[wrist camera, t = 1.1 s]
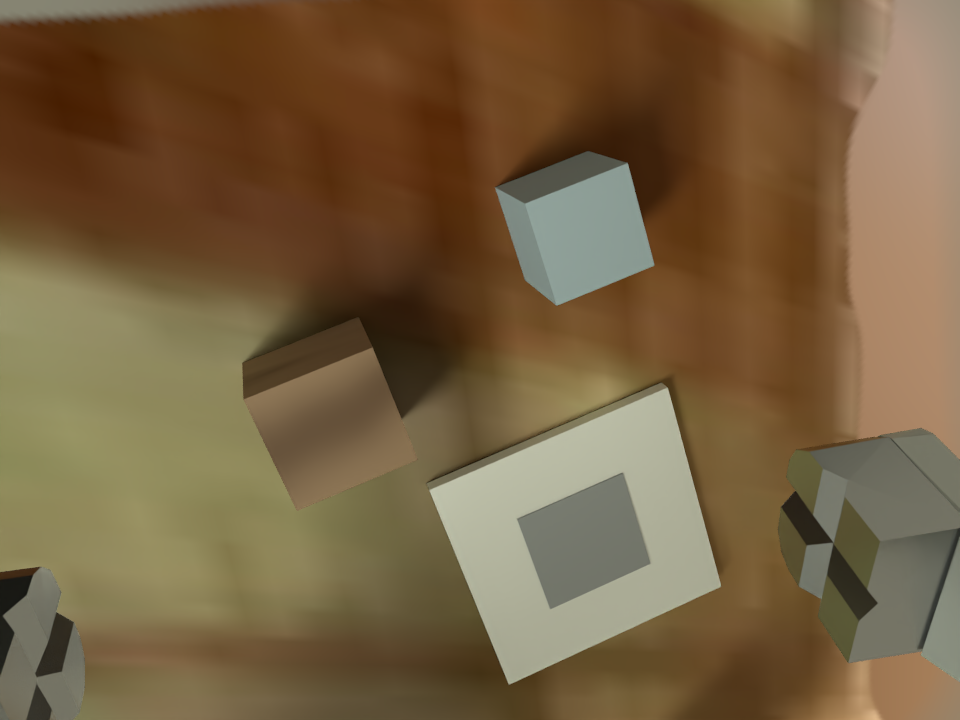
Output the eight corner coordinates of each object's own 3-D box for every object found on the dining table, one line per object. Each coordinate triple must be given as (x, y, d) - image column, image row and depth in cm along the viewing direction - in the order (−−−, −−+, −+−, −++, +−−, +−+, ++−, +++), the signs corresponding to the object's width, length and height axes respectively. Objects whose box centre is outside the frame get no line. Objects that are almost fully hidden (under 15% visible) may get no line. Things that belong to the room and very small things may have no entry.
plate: (714, 579, 56) (722, 587, 55) (505, 676, 54) (509, 685, 53) (661, 382, 50) (668, 388, 49) (426, 483, 48) (429, 491, 48)
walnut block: (399, 418, 47) (418, 459, 42) (290, 464, 46) (297, 510, 42) (358, 316, 45) (372, 347, 40) (242, 362, 44) (243, 399, 39)
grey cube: (613, 243, 47) (654, 265, 42) (524, 279, 46) (556, 305, 42) (587, 150, 45) (627, 163, 40) (494, 186, 44) (525, 203, 40)
